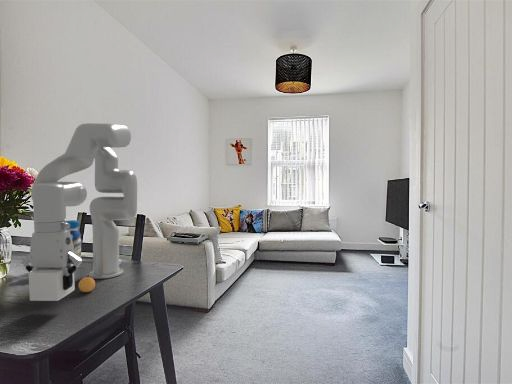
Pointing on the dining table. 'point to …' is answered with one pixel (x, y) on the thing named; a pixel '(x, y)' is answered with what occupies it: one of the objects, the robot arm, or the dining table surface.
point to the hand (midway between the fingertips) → (53, 287)
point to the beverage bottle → (75, 237)
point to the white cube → (48, 284)
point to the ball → (86, 284)
